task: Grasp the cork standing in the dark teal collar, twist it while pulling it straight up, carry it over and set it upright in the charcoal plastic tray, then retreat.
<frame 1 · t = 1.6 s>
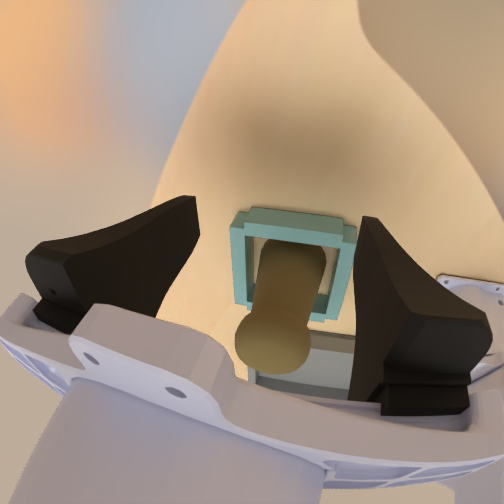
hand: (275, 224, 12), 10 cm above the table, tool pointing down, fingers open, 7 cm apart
charcoal tray: (312, 361, 35), on the table
teal collar: (293, 260, 26), on the table
cork: (293, 258, 26), resting in teal collar
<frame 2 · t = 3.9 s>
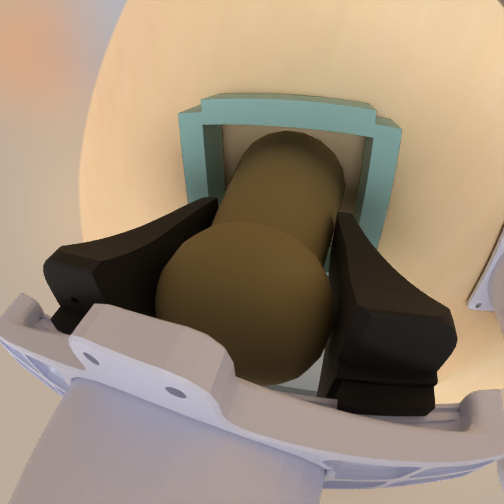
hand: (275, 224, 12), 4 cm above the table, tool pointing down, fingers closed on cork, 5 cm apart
charcoal tray: (320, 359, 24), on the table
teal collar: (289, 184, 15), on the table
cork: (290, 182, 16), resting in teal collar, touching gripper
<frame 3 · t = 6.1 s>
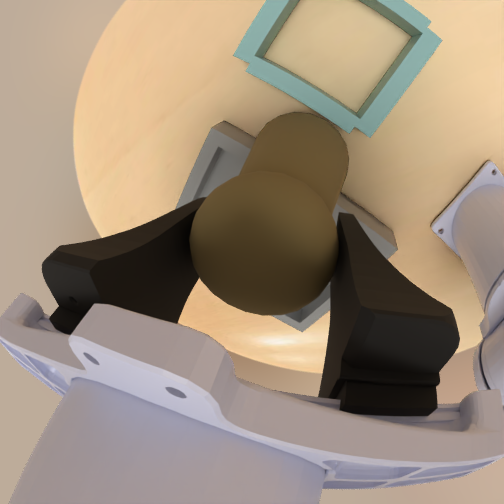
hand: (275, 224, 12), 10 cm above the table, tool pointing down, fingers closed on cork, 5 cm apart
charcoal tray: (272, 232, 25), on the table
teal collar: (338, 41, 14), on the table
cork: (300, 158, 17), point 3 cm above the table, touching gripper
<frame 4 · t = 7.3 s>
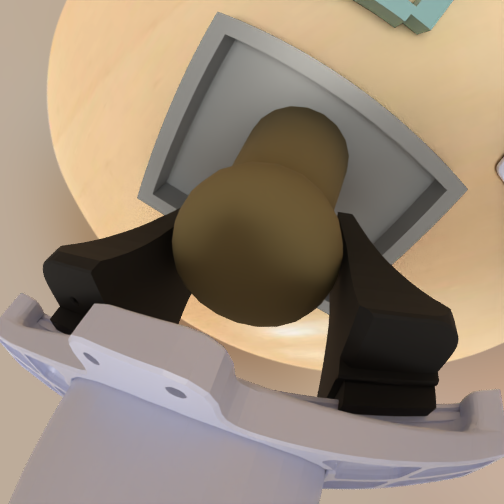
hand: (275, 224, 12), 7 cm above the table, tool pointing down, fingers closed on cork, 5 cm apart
charcoal tray: (295, 170, 17), on the table
cork: (297, 155, 16), resting on charcoal tray, touching gripper
when the fingers open (6 cm above the table, at t = 7.9 s): cork stays where it is, resting on charcoal tray.
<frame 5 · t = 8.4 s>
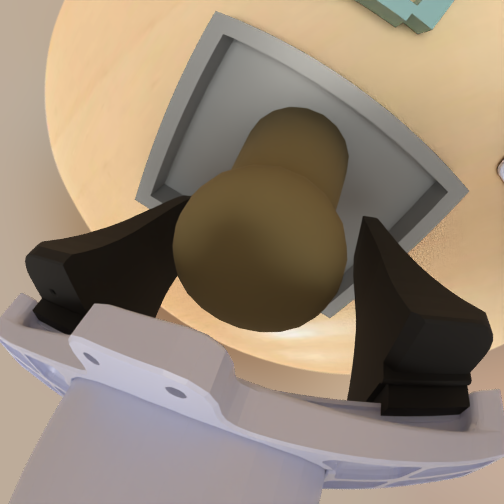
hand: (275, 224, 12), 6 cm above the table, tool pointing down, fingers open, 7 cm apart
charcoal tray: (294, 171, 17), on the table
cork: (296, 156, 16), resting on charcoal tray
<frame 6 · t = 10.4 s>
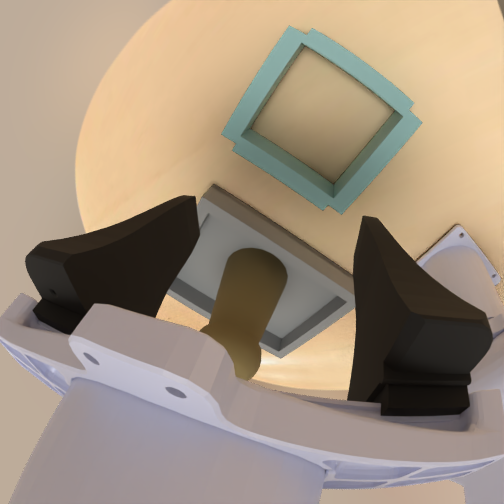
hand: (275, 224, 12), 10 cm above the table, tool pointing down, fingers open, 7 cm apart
charcoal tray: (256, 278, 28), on the table
teal collar: (321, 116, 18), on the table
cork: (256, 272, 27), resting on charcoal tray
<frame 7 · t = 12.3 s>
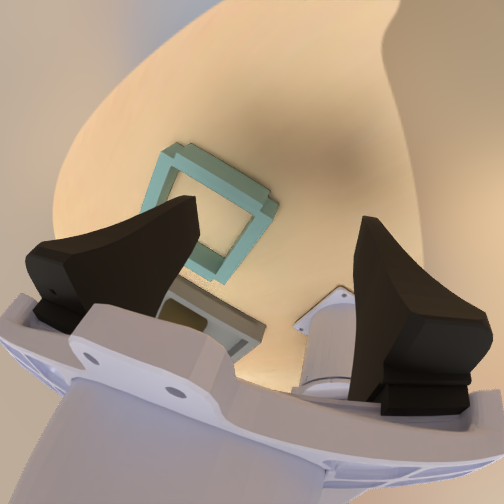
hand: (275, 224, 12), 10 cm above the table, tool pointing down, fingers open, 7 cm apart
charcoal tray: (187, 317, 36), on the table
teal collar: (205, 210, 25), on the table
cork: (185, 314, 35), resting on charcoal tray
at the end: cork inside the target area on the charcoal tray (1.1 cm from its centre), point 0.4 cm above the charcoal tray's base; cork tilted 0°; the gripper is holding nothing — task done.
